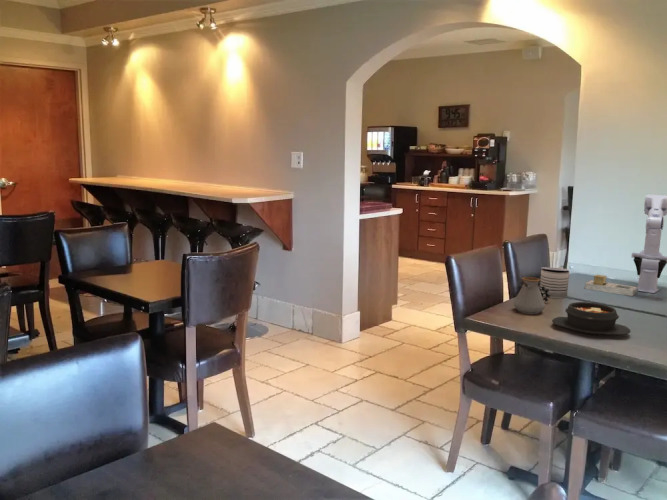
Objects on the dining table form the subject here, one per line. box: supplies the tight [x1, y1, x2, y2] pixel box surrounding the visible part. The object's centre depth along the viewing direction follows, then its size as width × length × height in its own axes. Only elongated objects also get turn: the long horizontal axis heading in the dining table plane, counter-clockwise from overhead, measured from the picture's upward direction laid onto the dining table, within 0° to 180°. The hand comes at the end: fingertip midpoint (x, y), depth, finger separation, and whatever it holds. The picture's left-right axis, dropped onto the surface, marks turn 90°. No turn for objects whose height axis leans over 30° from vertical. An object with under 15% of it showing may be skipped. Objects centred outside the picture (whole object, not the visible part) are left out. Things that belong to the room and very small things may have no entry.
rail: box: [584, 279, 639, 297], centre depth 270 cm, size 9×20×2 cm, turn 51°
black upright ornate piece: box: [539, 286, 550, 303], centre depth 242 cm, size 7×7×12 cm
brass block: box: [593, 274, 607, 285], centre depth 272 cm, size 4×4×6 cm
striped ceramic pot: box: [539, 266, 570, 299], centre depth 257 cm, size 11×11×12 cm
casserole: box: [551, 301, 631, 336], centre depth 207 cm, size 25×19×8 cm
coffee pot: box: [513, 276, 546, 315], centre depth 225 cm, size 21×12×15 cm, turn 149°
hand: (648, 276), depth 257 cm, fingers open, 7 cm apart
